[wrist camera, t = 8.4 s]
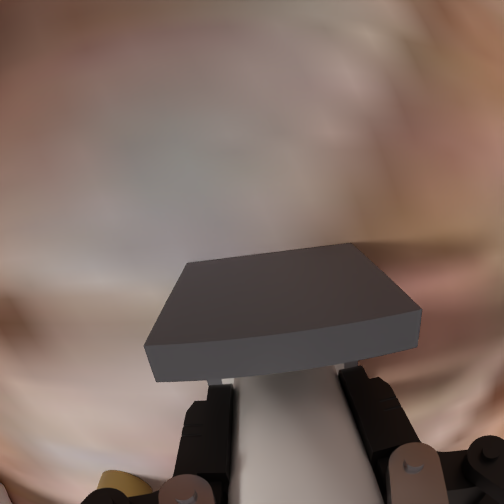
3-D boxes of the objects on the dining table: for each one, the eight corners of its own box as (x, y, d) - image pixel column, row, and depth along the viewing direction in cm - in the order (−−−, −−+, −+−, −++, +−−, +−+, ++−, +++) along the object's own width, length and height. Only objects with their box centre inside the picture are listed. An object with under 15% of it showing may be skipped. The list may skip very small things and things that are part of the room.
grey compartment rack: (187, 263, 12) (144, 346, 6) (350, 242, 11) (422, 309, 6) (257, 527, 18) (258, 583, 13) (334, 518, 18) (345, 572, 12)
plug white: (225, 350, 10) (205, 565, 3) (337, 335, 10) (421, 531, 3) (241, 425, 11) (239, 595, 4) (336, 412, 11) (382, 574, 4)
